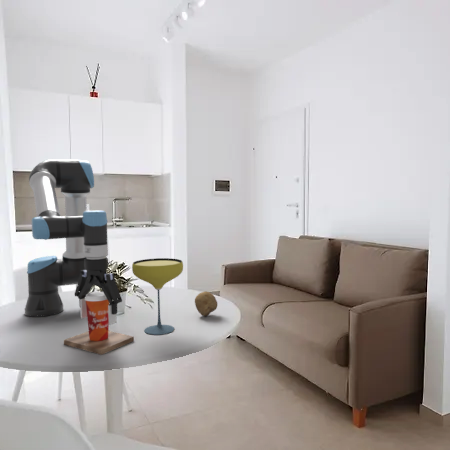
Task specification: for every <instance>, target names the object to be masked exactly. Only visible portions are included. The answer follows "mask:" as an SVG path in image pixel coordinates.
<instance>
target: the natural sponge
mask: <svg viewBox="0 0 450 450" xmlns="http://www.w3.org/2000/svg"><path fill="white" fill-rule="evenodd" d="M194 305H195V308H196V310H197V312H198V313H199V314H200V315H201V316H202V317H208V316H209V315H210V314H211V313H212V312H214V311H216V310H217V309H218V301H217V299H216V297H215V295H214V294H213V293H212V292H209V291H202V292H199V293H198V294H197V295H196V296H195V298H194Z"/></svg>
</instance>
